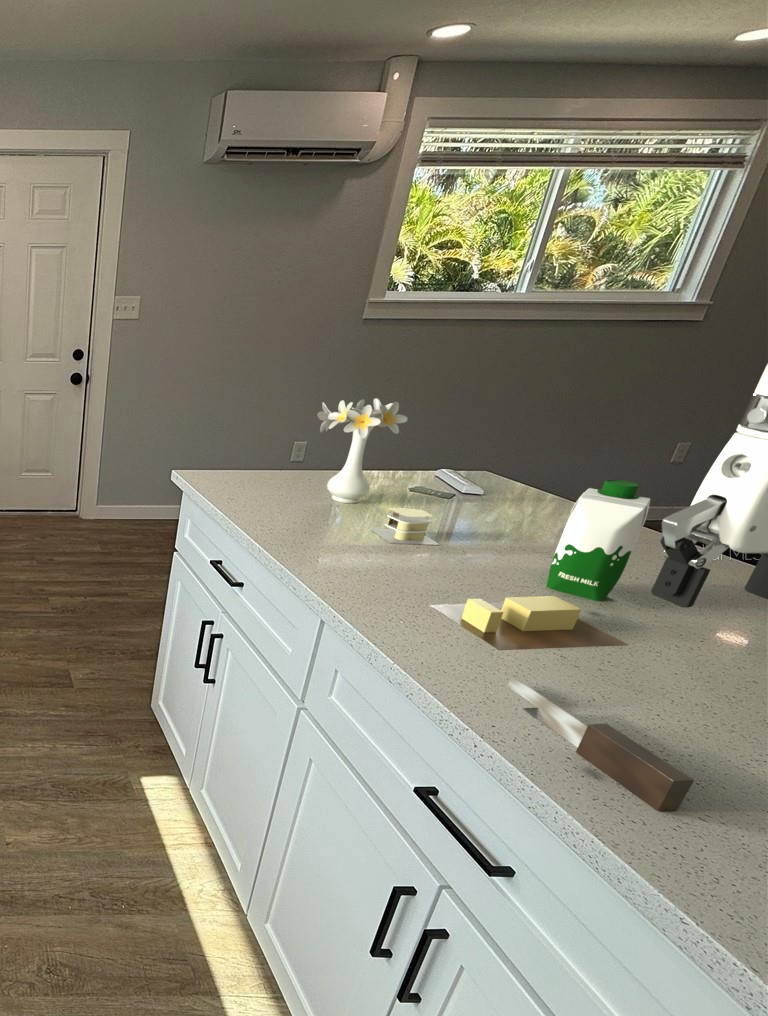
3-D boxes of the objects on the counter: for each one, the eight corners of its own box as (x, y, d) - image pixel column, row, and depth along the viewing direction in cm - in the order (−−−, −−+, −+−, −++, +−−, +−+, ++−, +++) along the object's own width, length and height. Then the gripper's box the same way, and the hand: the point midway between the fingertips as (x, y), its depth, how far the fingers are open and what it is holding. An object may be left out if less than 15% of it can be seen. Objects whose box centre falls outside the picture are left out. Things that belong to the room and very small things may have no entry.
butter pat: (473, 617, 100) (479, 598, 98) (496, 632, 96) (504, 612, 94) (460, 618, 100) (467, 598, 98) (484, 632, 96) (491, 612, 94)
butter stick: (546, 615, 100) (554, 595, 99) (572, 629, 96) (581, 609, 95) (498, 617, 100) (505, 597, 99) (523, 631, 96) (531, 611, 95)
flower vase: (306, 487, 169) (326, 392, 159) (386, 499, 159) (413, 398, 149) (297, 500, 159) (317, 399, 149) (382, 513, 149) (410, 407, 139)
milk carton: (612, 597, 109) (661, 486, 102) (603, 613, 104) (655, 497, 96) (547, 580, 116) (589, 474, 108) (535, 594, 110) (578, 484, 102)
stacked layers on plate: (416, 529, 140) (423, 506, 137) (440, 545, 131) (447, 520, 129) (368, 528, 141) (374, 504, 138) (389, 543, 132) (396, 518, 130)
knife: (677, 810, 65) (694, 780, 64) (657, 811, 65) (674, 781, 64) (512, 694, 84) (522, 669, 82) (496, 695, 84) (506, 669, 82)
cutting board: (540, 608, 106) (543, 600, 105) (625, 653, 93) (629, 644, 92) (425, 612, 105) (428, 604, 104) (495, 658, 92) (499, 649, 91)
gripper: (769, 431, 50) (676, 621, 57) (968, 428, 51) (853, 614, 58) (667, 414, 57) (594, 584, 64) (844, 410, 58) (754, 579, 65)
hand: (717, 599), depth 61 cm, fingers open, 9 cm apart
